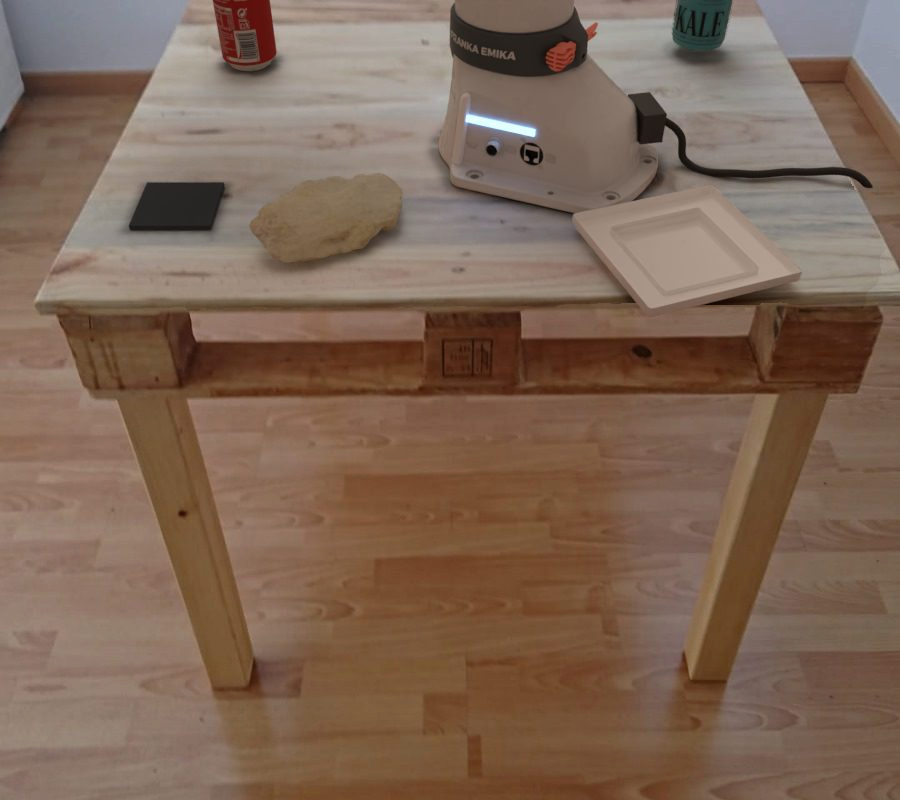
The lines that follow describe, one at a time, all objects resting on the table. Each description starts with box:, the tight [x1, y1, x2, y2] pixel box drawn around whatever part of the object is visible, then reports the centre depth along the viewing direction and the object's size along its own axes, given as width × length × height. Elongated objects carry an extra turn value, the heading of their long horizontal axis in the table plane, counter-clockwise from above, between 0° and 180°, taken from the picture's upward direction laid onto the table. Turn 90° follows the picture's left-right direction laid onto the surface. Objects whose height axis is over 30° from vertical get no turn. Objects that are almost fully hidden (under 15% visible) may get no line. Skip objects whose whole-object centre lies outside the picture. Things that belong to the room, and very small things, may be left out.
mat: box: [128, 181, 226, 231], centre depth 89 cm, size 8×8×1 cm
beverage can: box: [212, 0, 277, 72], centre depth 107 cm, size 6×6×12 cm
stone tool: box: [249, 172, 404, 264], centre depth 85 cm, size 8×4×15 cm
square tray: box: [571, 184, 803, 318], centre depth 83 cm, size 14×2×14 cm
